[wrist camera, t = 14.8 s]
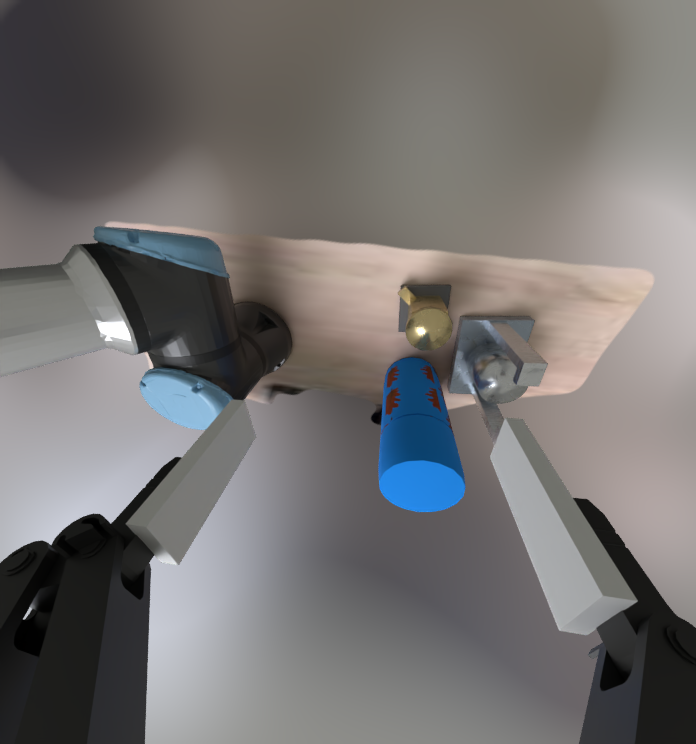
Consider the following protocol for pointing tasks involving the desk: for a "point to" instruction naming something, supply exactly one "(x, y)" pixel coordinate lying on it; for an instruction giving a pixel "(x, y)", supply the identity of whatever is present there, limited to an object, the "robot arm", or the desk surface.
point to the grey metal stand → (494, 363)
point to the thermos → (417, 441)
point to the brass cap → (426, 320)
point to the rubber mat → (422, 291)
